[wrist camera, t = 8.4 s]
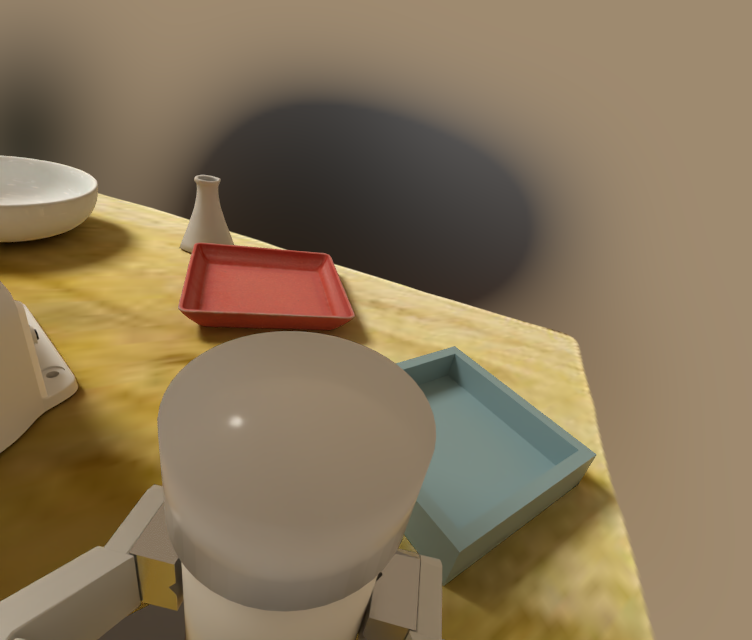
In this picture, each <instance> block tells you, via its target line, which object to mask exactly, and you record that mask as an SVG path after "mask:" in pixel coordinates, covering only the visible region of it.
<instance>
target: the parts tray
mask: <svg viewBox="0 0 752 640" xmlns="http://www.w3.org/2000/svg"><path fill="white" fill-rule="evenodd" d="M396 364H397V365H398V366H399V367H400V368H402V369H403V370H404V371H405V372H406V373H407V374H408V375H409V376H410V377H411V378H412V379H413V380H414V381H415V382H416V383H417V385H418V386H419V387H420V389H421V390H422V391H423V393H424V395H425V396H426V398H427V400H428V402H429V404H430V407H431V409H432V412H433V415H434V420H435V424H436V442H435V449H434V453H433V456H432V459H431V462H430V464H429V467H428V470H427V473H426V475H425V478H424V481H423V484H422V486H421V489H420V492H419V494H418V497H417V500H416V503H415V505H414V508H413V511H412V514H411V516H410V519H409V522H408V525H407V527H406V530H405V533H404V535H405V536H406V538H407V539H408V540H409V541H410V543H411V544H412V545H413V547H414V548H415V549H416V551H417V552H418V553H419V554H420V555H424V556H428V557H432V558H436V559H440V561H441V563H442V585H443V586H444V585H446V584H447V583H448V582H450V581H451V580H452V579H453V578H455V577H456V576H457V575H459V574H460V573H461V572H463V571H464V570H465V569H467V568H468V567H469V566H471V565H472V564H473V563H475V562H476V561H477V560H479V559H480V558H481V557H483V556H484V555H485V554H487V553H488V552H489V551H490V550H492V549H493V548H494V547H496V546H497V545H498V544H500V543H501V542H502V541H504V540H505V539H506V538H508V537H509V536H510V535H512V534H513V533H514V532H516V531H517V530H518V529H520V528H521V527H522V526H524V525H525V524H526V523H528V522H529V521H530V520H531V519H533V518H534V517H535V516H537V515H538V514H539V513H541V512H542V511H543V510H545V509H546V508H547V507H549V506H550V505H551V504H553V503H554V502H555V501H557V500H558V499H559V498H561V497H562V496H563V495H565V494H566V493H567V492H569V491H570V490H571V489H572V488H574V487H575V486H576V485H578V484H579V482H580V480H581V479H582V477H583V476H584V474H585V472H586V471H587V469H588V468H589V466H590V464H591V463H592V461H593V460H594V458H595V456H596V454H595V453H594V452H593V451H591V450H590V449H589V448H587V447H586V446H585V445H583V444H582V443H581V442H579V441H578V440H577V439H575V438H574V437H573V436H572V435H570V434H569V433H568V432H566V431H565V430H564V429H562V428H561V427H560V426H558V425H557V424H556V423H555V422H553V421H552V420H551V419H549V418H548V417H547V416H545V415H544V414H543V413H541V412H540V411H539V410H537V409H536V408H535V407H534V406H532V405H531V404H530V403H528V402H527V401H526V400H524V399H523V398H522V397H520V396H519V395H518V394H517V393H515V392H514V391H513V390H511V389H510V388H509V387H507V386H506V385H505V384H503V383H502V382H501V381H499V380H498V379H497V378H496V377H494V376H493V375H492V374H490V373H489V372H488V371H486V370H485V369H484V368H482V367H481V366H480V365H478V364H477V363H476V362H475V361H473V360H472V359H471V358H469V357H468V356H467V355H465V354H464V353H463V352H461V351H460V350H459V349H458V348H456V347H455V346H454V347H451V348H448V349H444V350H441V351H437V352H434V353H431V354H427V355H424V356H420V357H417V358H413V359H410V360H407V361H403V362H400V363H396Z"/></svg>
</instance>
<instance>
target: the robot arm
mask: <svg viewBox="0 0 752 640" xmlns="http://www.w3.org/2000/svg"><path fill="white" fill-rule="evenodd" d="M77 389H78V384H77V381H76V379H75V376H74V374H73V373H72V372H71V370H70V369H69V367H68V366H67V364H66V363H65V361H64V360H63V359H62V357H61V356H60V354H59V353H58V351H57V350H56V348H55V347H54V346H53V344H52V343H51V341H50V340H49V338H48V337H47V335H46V334H45V332H44V331H43V330H42V328H41V327H40V325H39V324H38V322H37V321H36V319H35V318H34V317H33V315H32V314H31V312H30V311H29V309H28V308H27V307H26V306H25V305H24V304H23V303H22V302H20V301H16V300H14V299H13V297H12V295H11V293H10V292H9V291H8V289H7V288H6V287H5V286H4V285H3V284H2V282H1V281H0V453H1V452H2V451H3V450H5V449H6V448H7V447H9V446H10V445H11V444H12V443H14V442H15V441H16V440H17V439H18V438H19V437H20V436H21V435H22V434H23V433H24V432H25V431H26V430H27V429H28V428H29V427H30V426H31V425H32V424H33V422H34V421H35V420H36V419H37V418H38V417H39V416H40V415H42V414H43V413H44V412H45V411H47V410H49V409H51V408H52V407H54V406H56V405H57V404H59V403H61V402H63V401H64V400H66V399H67V398H69V397H70V396H72V395H73V394H74V393H75V392H76V391H77ZM183 599H184V598H183V581H182V564H181V560H180V559H179V557H178V556H177V554H176V552H175V550H174V548H173V546H172V543H171V541H170V538H169V535H168V531H167V526H166V521H165V509H164V497H163V486H159V485H155V484H154V485H153V486H152V487H150V488H149V489H148V490H147V491H146V492H145V494H144V495H143V496H142V497H141V499H140V500H139V501H138V503H137V504H136V505H135V507H134V508H133V509H132V511H131V512H130V513H129V515H128V516H127V517H126V519H125V520H124V521H123V523H122V524H121V525H120V527H119V528H118V529H117V531H116V532H115V533H114V535H113V536H112V537H111V539H110V540H109V541H108V542H107V544H106V545H105V546H104V547H101V546H96V547H95V548H93V549H91V550H89V551H88V552H86V553H84V554H82V555H81V556H79V557H77V558H75V559H74V560H72V561H70V562H68V563H67V564H65V565H63V566H61V567H60V568H58V569H56V570H54V571H53V572H51V573H49V574H47V575H46V576H44V577H42V578H40V579H39V580H37V581H35V582H33V583H32V584H30V585H28V586H26V587H25V588H23V589H21V590H19V591H18V592H16V593H14V594H12V595H11V596H9V597H7V598H5V599H4V600H2V601H0V640H97V639H99V638H100V637H101V636H102V635H104V634H105V633H106V632H107V631H109V630H110V629H111V628H112V627H114V626H115V625H116V624H117V623H119V622H120V621H121V620H122V619H124V618H125V617H126V616H127V615H129V614H130V613H131V612H132V611H134V610H135V609H136V608H137V607H139V606H140V605H141V602H143V603H147V604H151V605H156V606H160V607H164V608H168V609H172V610H176V611H178V609H179V607H180V605H181V603H182V601H183ZM357 640H444V639H442V563H441V561H440V559H436V558H432V557H428V556H424V555H420V554H419V553H414V552H410V551H406V550H402V549H397V551H396V553H395V554H394V556H393V557H392V559H391V560H390V561H389V563H388V564H387V565H386V567H385V568H384V569H383V570H382V571H381V572H380V573H379V574H378V576H377V579H376V582H375V585H374V588H373V591H372V594H371V596H370V599H369V602H368V605H367V608H366V611H365V614H364V617H363V620H362V623H361V626H360V629H359V632H358V638H357Z"/></svg>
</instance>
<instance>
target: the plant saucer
mask: <svg viewBox="0 0 752 640" xmlns="http://www.w3.org/2000/svg"><path fill="white" fill-rule="evenodd" d="M178 308H179V310H180V311H181V312H182V313H183V314H184V315H185V316H187V317H188V318H189V319H191V320H193V321H194V322H196V323H197V324H199V325H201V326H205V327H236V328H270V329H303V330H333V329H335V328H337V327H340V326H342V325H344V324H345V323H347V322H349V321H350V320H351V319H353V318H354V317H355V314H354V311H353V309H352V307H351V304H350V302H349V300H348V297H347V295H346V292H345V290H344V288H343V285H342V283H341V280H340V278H339V275H338V273H337V271H336V268H335V266H334V263H333V261H332V259H331V256H330V255H328V254H324V253H314V252H302V251H291V250H280V249H269V248H258V247H247V246H236V245H224V244H213V243H195V244H194V247H193V250H192V254H191V258H190V262H189V265H188V270H187V274H186V278H185V282H184V286H183V290H182V294H181V298H180V301H179V306H178Z"/></svg>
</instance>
